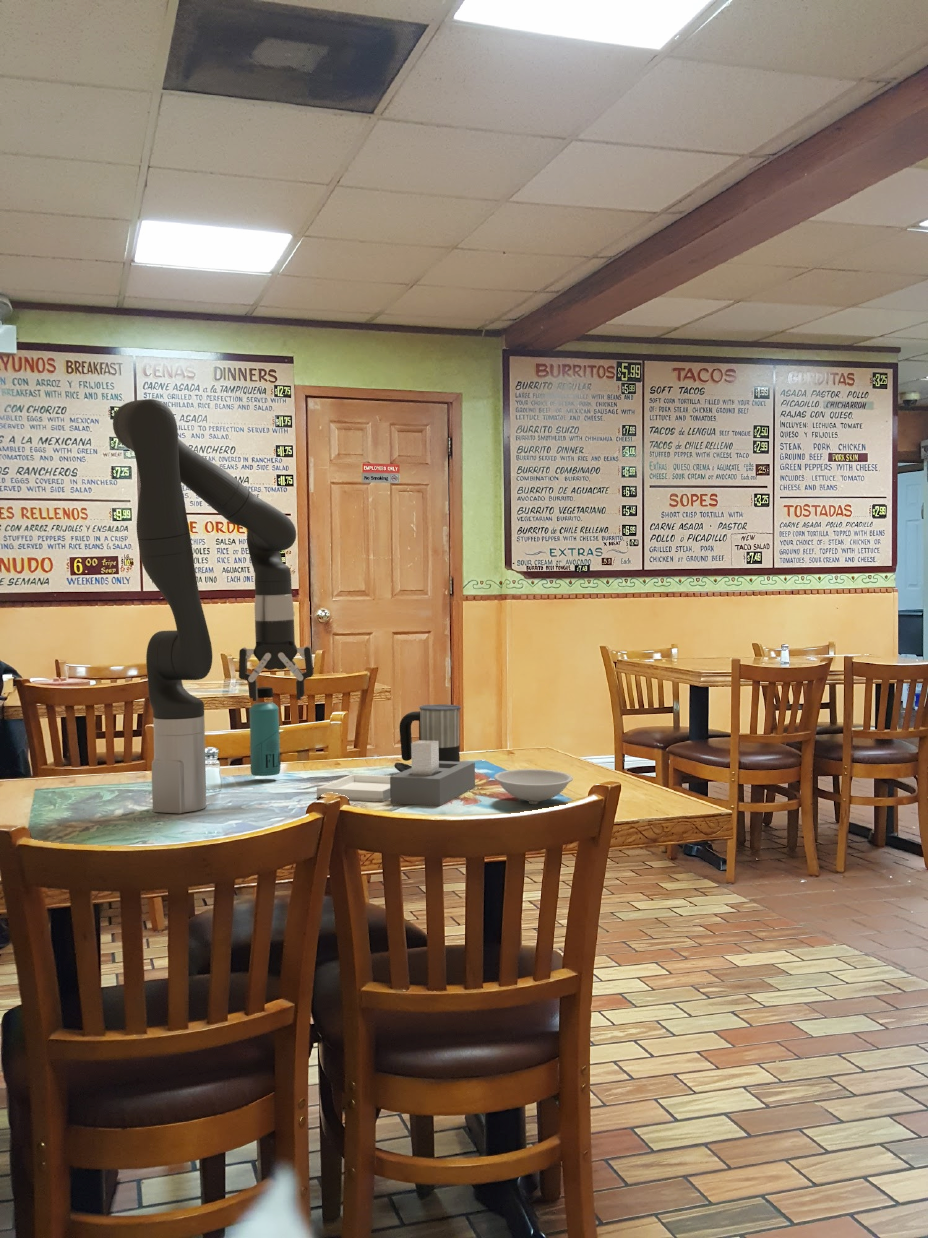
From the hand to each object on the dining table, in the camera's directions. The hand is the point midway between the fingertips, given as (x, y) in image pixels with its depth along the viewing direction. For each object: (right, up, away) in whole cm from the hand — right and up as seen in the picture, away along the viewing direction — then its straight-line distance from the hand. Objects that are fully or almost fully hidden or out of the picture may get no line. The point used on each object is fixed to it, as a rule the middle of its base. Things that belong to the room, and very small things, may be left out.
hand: (277, 700), depth 210 cm
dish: (+50, -19, -10) cm, 54 cm away
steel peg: (+29, -19, -5) cm, 35 cm away
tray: (+17, -19, +3) cm, 26 cm away
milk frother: (+29, -18, +21) cm, 40 cm away
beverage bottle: (-6, -19, +19) cm, 27 cm away
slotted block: (+31, -19, 0) cm, 36 cm away
